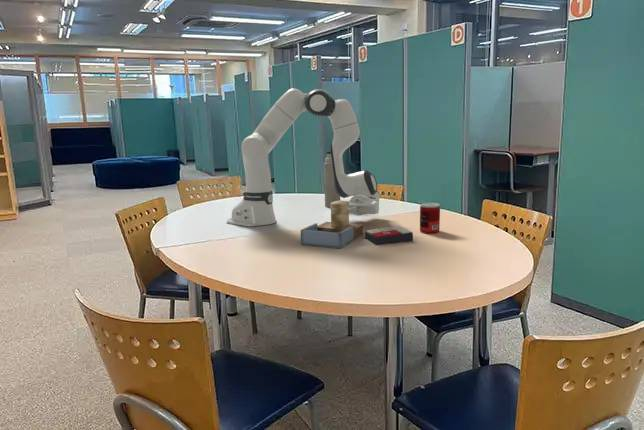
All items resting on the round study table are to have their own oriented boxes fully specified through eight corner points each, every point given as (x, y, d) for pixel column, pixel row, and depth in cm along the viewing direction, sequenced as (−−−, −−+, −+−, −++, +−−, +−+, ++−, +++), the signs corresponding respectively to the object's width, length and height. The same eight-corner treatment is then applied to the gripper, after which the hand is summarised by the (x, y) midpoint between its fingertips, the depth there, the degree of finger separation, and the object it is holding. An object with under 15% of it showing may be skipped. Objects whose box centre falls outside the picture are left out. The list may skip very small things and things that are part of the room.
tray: (300, 244, 184) (300, 230, 183) (315, 236, 195) (315, 223, 193) (340, 248, 177) (340, 233, 176) (353, 240, 188) (353, 226, 187)
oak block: (331, 226, 194) (330, 203, 192) (337, 223, 199) (337, 201, 198) (343, 227, 192) (342, 204, 190) (349, 224, 197) (348, 201, 195)
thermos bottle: (341, 204, 259) (340, 150, 253) (339, 207, 251) (338, 152, 246) (326, 204, 261) (325, 151, 255) (323, 207, 253) (322, 152, 247)
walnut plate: (315, 236, 195) (315, 227, 194) (326, 231, 203) (326, 221, 203) (353, 240, 188) (353, 230, 187) (363, 234, 197) (362, 224, 196)
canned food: (441, 229, 201) (442, 203, 199) (437, 234, 194) (437, 206, 192) (422, 228, 204) (422, 202, 202) (417, 233, 197) (418, 205, 195)
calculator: (364, 229, 190) (399, 224, 195) (364, 240, 191) (400, 235, 195) (375, 236, 180) (413, 230, 184) (376, 247, 181) (413, 241, 185)
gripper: (337, 196, 217) (323, 201, 205) (382, 198, 209) (370, 204, 196) (337, 210, 219) (324, 216, 206) (382, 213, 210) (370, 220, 198)
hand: (347, 210), depth 201 cm, fingers closed
